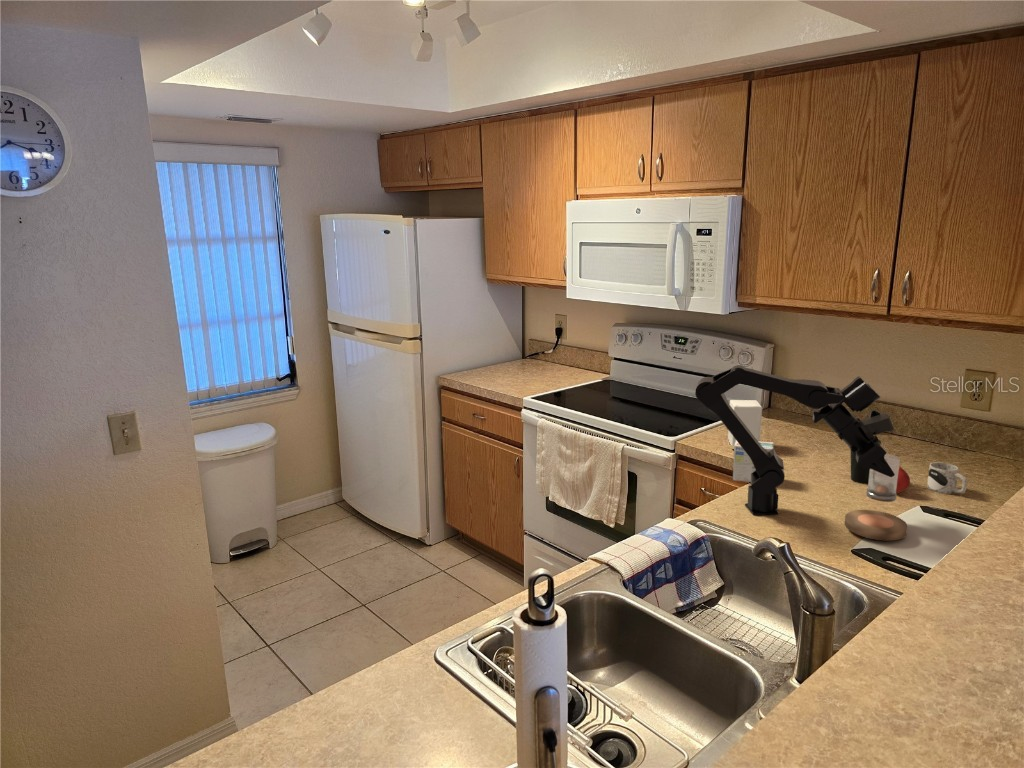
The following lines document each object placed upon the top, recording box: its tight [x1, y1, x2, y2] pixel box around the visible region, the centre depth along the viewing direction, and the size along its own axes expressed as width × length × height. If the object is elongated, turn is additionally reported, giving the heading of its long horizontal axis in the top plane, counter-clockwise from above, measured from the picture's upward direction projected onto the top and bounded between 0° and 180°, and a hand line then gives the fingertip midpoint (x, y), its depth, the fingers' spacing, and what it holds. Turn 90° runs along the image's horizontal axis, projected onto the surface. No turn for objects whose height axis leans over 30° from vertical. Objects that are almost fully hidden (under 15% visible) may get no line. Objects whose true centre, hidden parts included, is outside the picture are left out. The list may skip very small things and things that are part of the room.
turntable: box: [844, 509, 908, 541], centre depth 159 cm, size 13×13×3 cm
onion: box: [896, 465, 911, 494], centre depth 180 cm, size 6×6×8 cm
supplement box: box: [727, 399, 763, 446], centre depth 221 cm, size 9×9×15 cm
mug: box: [926, 461, 968, 495], centre depth 181 cm, size 10×7×7 cm
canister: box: [865, 453, 901, 503], centre depth 161 cm, size 6×6×10 cm
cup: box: [850, 439, 882, 485], centre depth 190 cm, size 8×8×12 cm
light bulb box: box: [732, 440, 775, 483], centre depth 193 cm, size 11×7×11 cm, turn 68°
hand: (890, 471), depth 161 cm, fingers closed on canister, 6 cm apart
